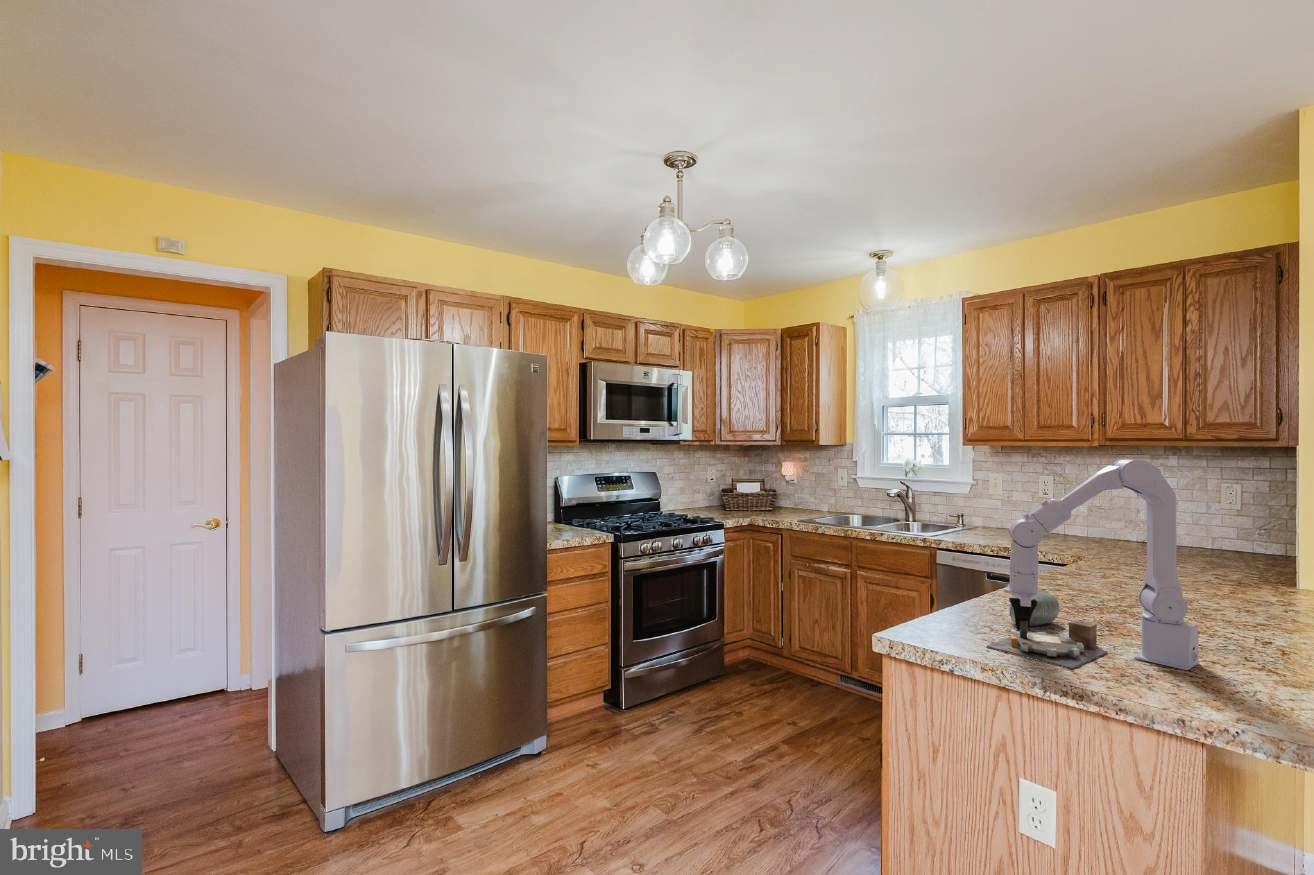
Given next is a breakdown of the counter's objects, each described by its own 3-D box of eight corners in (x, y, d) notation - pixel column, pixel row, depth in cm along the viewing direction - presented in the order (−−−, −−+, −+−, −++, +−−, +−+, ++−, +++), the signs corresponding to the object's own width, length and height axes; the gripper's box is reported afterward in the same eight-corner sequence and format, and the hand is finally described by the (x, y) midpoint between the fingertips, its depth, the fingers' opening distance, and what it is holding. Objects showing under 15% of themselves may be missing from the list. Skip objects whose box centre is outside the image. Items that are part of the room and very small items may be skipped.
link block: (1096, 645, 153) (1096, 624, 153) (1090, 648, 151) (1090, 626, 151) (1075, 641, 157) (1075, 620, 157) (1068, 643, 155) (1068, 622, 155)
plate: (1107, 653, 148) (1107, 650, 148) (1072, 669, 137) (1072, 667, 137) (1024, 634, 162) (1024, 631, 162) (986, 647, 152) (986, 645, 152)
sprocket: (1076, 642, 154) (1076, 618, 154) (1090, 660, 141) (1089, 634, 141) (1007, 635, 159) (1007, 611, 159) (1014, 652, 146) (1014, 627, 146)
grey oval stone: (1031, 602, 181) (1041, 575, 176) (1063, 626, 173) (1074, 598, 168) (995, 619, 176) (1004, 591, 171) (1026, 644, 168) (1036, 616, 163)
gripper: (1002, 564, 161) (1001, 619, 161) (1006, 576, 148) (1004, 636, 148) (1035, 567, 158) (1034, 624, 158) (1042, 579, 145) (1040, 641, 145)
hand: (1022, 630), depth 153 cm, fingers closed, pressing on sprocket
